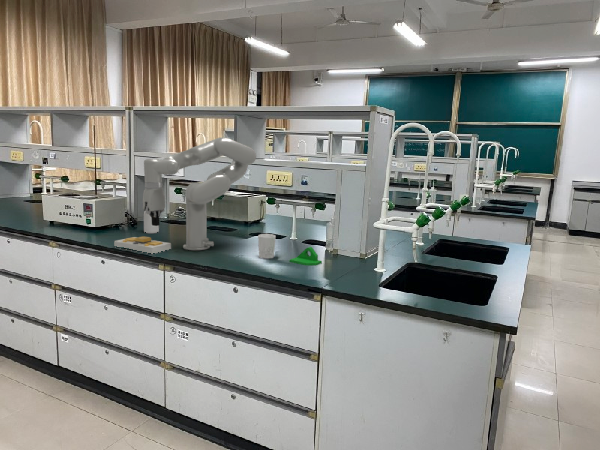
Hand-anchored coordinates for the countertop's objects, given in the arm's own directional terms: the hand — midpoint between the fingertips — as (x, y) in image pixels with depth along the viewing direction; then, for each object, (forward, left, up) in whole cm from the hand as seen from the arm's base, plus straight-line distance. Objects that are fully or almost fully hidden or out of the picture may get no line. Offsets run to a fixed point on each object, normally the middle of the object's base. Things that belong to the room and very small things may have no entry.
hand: (155, 225), depth 208 cm
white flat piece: (+7, -1, -12) cm, 14 cm away
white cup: (-52, -7, -12) cm, 54 cm away
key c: (+14, -3, -11) cm, 18 cm away
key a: (+1, 0, -11) cm, 11 cm away
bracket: (-71, -4, -12) cm, 72 cm away
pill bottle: (+25, -36, -12) cm, 46 cm away
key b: (+7, -1, -10) cm, 12 cm away
